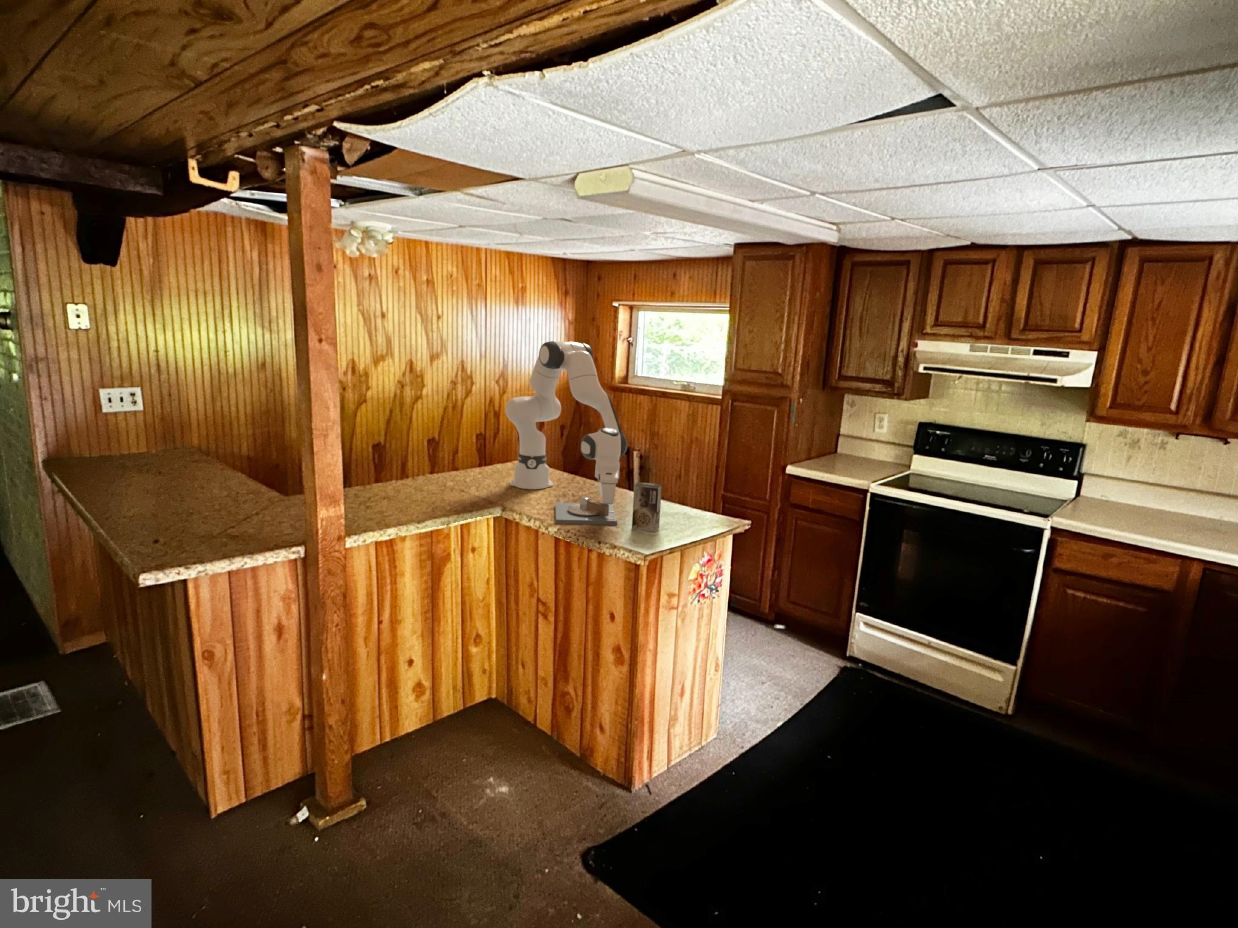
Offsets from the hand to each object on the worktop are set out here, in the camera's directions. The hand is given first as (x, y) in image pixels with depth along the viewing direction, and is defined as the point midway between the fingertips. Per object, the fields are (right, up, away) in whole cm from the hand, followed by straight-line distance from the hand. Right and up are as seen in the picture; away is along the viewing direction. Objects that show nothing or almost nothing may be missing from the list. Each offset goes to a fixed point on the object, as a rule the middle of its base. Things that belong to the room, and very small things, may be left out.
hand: (604, 508), depth 243 cm
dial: (-6, -1, +2) cm, 6 cm away
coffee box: (+15, -7, -8) cm, 18 cm away
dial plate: (-8, -3, +4) cm, 9 cm away
